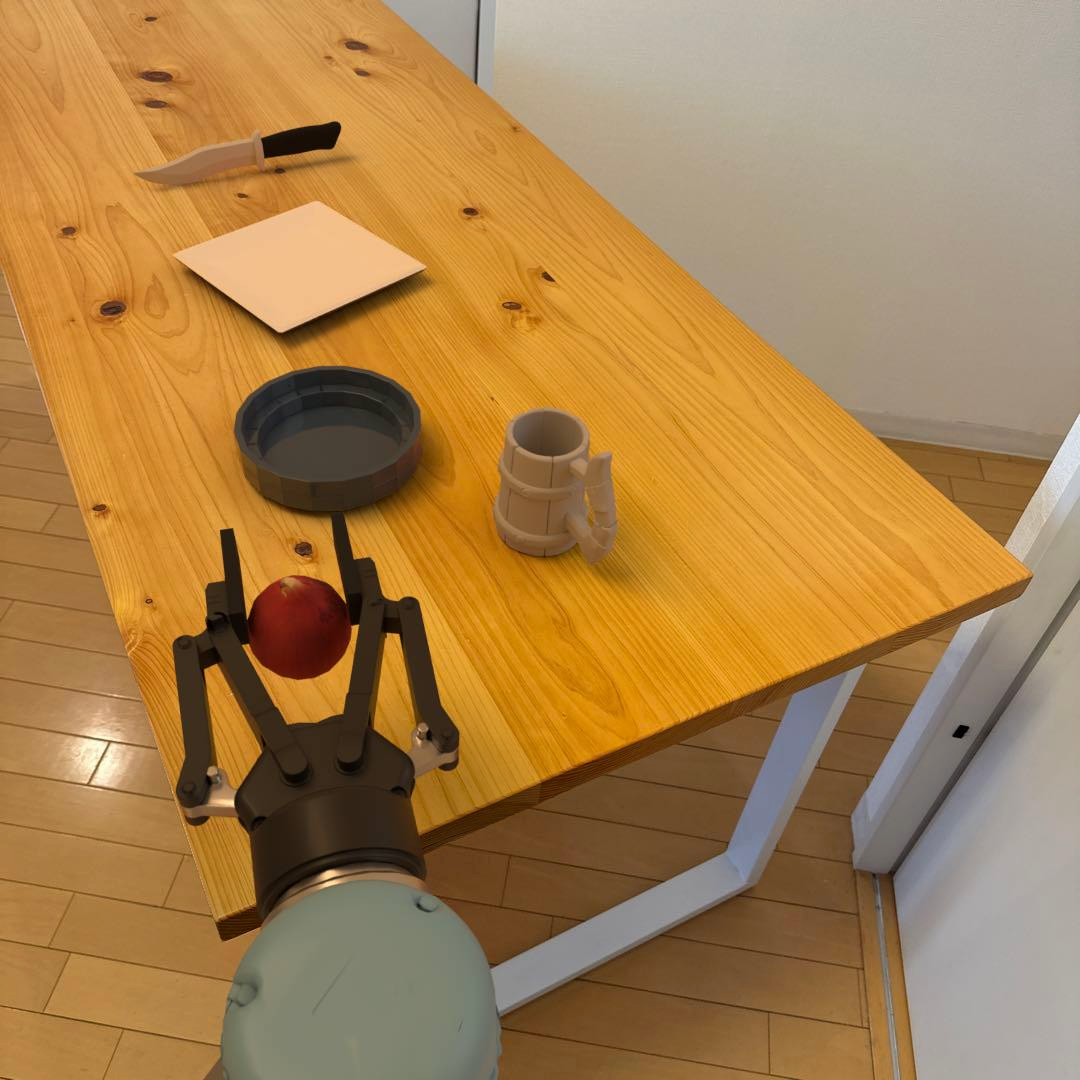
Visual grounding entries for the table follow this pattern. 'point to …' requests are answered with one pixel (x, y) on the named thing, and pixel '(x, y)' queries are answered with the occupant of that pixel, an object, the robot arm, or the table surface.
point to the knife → (242, 154)
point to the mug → (554, 487)
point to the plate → (299, 265)
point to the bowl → (328, 437)
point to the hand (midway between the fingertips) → (284, 537)
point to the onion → (299, 627)
